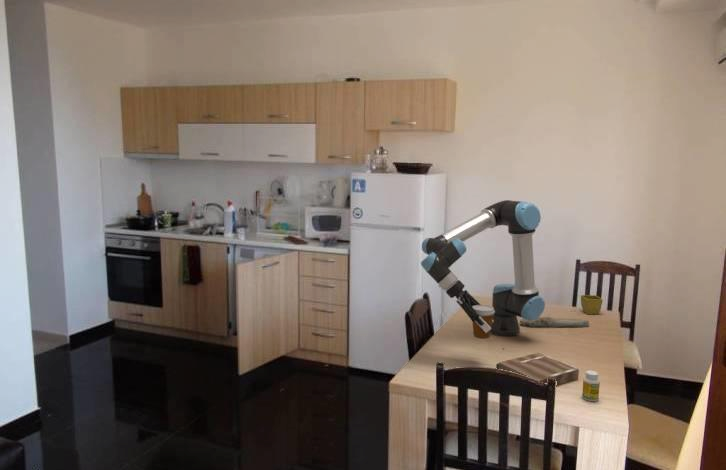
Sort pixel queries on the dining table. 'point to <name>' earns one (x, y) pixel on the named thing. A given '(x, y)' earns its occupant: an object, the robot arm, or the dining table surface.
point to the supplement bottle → (591, 386)
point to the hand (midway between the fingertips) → (490, 326)
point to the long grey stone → (554, 322)
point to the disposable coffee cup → (486, 315)
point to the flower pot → (591, 304)
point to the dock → (541, 368)
